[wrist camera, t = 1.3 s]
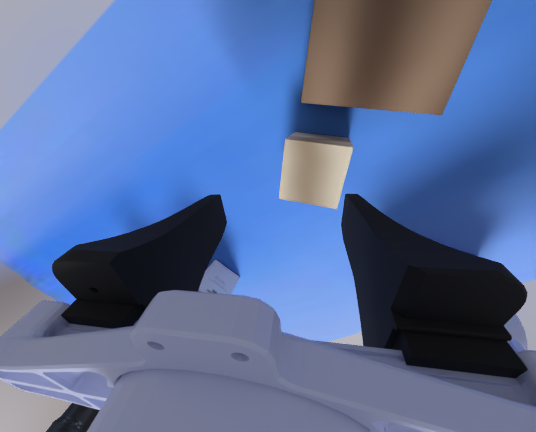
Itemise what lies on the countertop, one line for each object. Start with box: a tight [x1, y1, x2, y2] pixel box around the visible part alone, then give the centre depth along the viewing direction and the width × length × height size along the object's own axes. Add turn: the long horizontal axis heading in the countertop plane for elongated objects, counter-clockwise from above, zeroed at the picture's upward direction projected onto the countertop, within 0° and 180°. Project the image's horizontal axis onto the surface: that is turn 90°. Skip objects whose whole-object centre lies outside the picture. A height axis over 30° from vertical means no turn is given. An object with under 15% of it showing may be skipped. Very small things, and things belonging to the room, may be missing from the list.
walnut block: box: [301, 0, 492, 115], centre depth 15 cm, size 10×10×3 cm
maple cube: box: [279, 132, 353, 209], centre depth 19 cm, size 5×5×5 cm
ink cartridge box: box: [198, 260, 240, 294], centre depth 27 cm, size 9×5×15 cm, turn 143°
